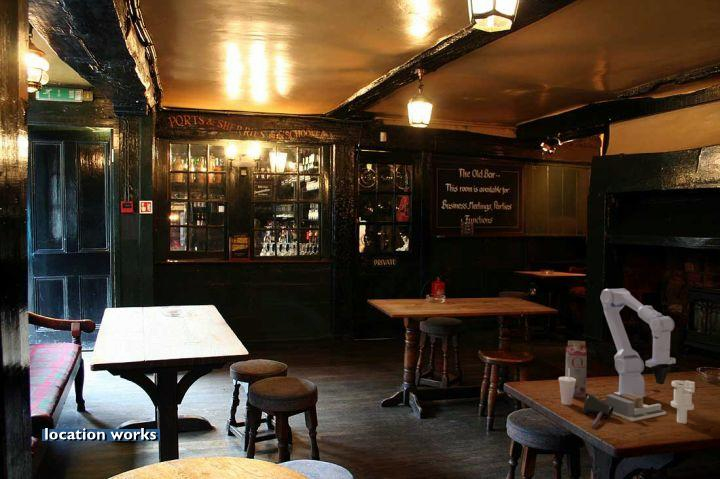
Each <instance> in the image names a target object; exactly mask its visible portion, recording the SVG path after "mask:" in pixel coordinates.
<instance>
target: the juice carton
mask: <svg viewBox="0 0 720 479" xmlns="http://www.w3.org/2000/svg"><path fill="white" fill-rule="evenodd" d="M587 356H588V350H587V346H586V341H585V340H583V341H582V340H568V341H567V345H566V347H565V373H564V374H565V376H564V377H568V368H570V377H571V378H574V379H576V383H575V387H574V393H573V398H574V397H575V398H587V395H586V393H587V364H588V363H587V361H588V358H587Z"/></svg>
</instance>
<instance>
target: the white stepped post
mask: <svg viewBox="0 0 720 479" xmlns="http://www.w3.org/2000/svg"><path fill="white" fill-rule="evenodd" d="M695 383H696V382H695V381H691V380H671V386H672V387H674V389H673V400H671V401H670V406H671V407H672V408H674V409H676V423H679V424H683V425H684V424H687V423H688V422H687V421H688V411H693V410H695V405H694V404H693V401H692V400H693V399H692V398H693V394H694V393H695V390H696V389H695V388H696V386H695V385H696V384H695Z"/></svg>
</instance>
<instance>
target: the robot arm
mask: <svg viewBox="0 0 720 479" xmlns="http://www.w3.org/2000/svg"><path fill="white" fill-rule="evenodd" d="M599 298H600V301H601V304H602V307H603V313H604V316H605V318H606V322H607V325H608V327H609V330H610V333H611V336H612V339H613V342H614V344H615V348H616V351H617V352H616V354H614V356H613V359H614V368H615V370H616V371H617V373H618V375H619V376H618V377H619V378H618V391H615V392H613V395H615V396H618V397H620V394H625V393H631V394H634V395H637V396H640V397H643V398H645V397H647V395H646V394H645V379H644V375H642V374H641V373H642V372H643V371H644V370H645V369H644V368H645V366H646V367H648V368H651V370H652V371H653V374H654V378H655V382H656V384H658V385H664V384H665V381H666V378H667V375H668V373H669V372H670V370H671V369H672V366H671V365H672V364H676V362H677V361H676V358H675V357H672V356H671V357H670V354H671V351H670V350H671V332H672V331H673V330H674V328H675V321H674V319H673V318H672V317H671V316H669V315H666V316H665V315H663V314H662V313H661V312H658V311H657V310H655V309H654V308H653V306H652V305H647V304H646V305H644V304H642V303H641V301H638V299H636V298H635V297H634V296H633V295H632V294H631V292H630V291H629V290H627V289H626V288H624V287H623V288H605V289H603V290H602V291H601V294H600V297H599ZM625 306H627V307H629V309H630V308H631V309H632V310H633V311H635V312H636V313H637V315H638V316H637V317H639V318H640V319H641V320H642V321H644V322H645V323H646V324H648V325H649V328H650V329H651V336H652V358H650V359H647V360H645V363H644V361H643V359H642V358H641V357H640V355H639V352H637V351H636V350H635V349H633V348H632V345H631V343H630V340H629V337H628V334H627V332H626V330H625V326H624V324H623V321H622V318H621V315H620V311H622V309H623V308H625Z"/></svg>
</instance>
